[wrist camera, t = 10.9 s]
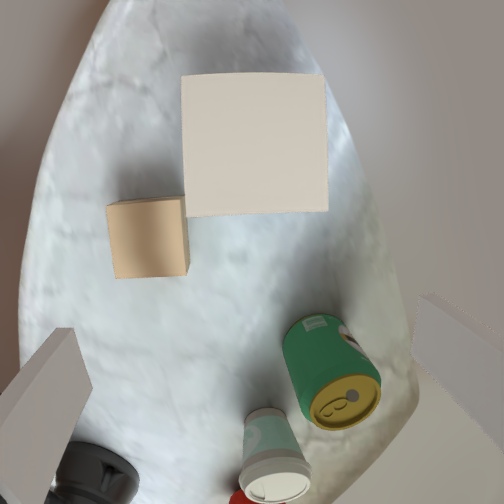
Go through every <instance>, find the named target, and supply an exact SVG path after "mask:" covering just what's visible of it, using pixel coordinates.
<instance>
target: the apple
mask: <svg viewBox="0 0 504 504" xmlns="http://www.w3.org/2000/svg"><path fill="white" fill-rule="evenodd" d="M229 504H262V503H257V502H254V501H252V500H250V499H249V498H247V496H246V495H245V493H244V491H243V490H242V489H240V490H239V491H237V492H235V493H234V494H233V495H232V496H231V497H230V501H229ZM277 504H286V503H285V502H283V503H277Z"/></svg>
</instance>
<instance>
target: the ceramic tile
mask: <svg viewBox="0 0 504 504" xmlns="http://www.w3.org/2000/svg"><path fill="white" fill-rule="evenodd" d="M181 113H182V146H183V169H184V187H185V204H186V218H188V217H205V216H222V215H242V214H264V213H289V212H320V211H328V142H327V115H326V96H325V80H324V75H317V74H300V73H268V72H248V73H216V74H200V75H187V76H181Z"/></svg>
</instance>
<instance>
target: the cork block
mask: <svg viewBox="0 0 504 504" xmlns="http://www.w3.org/2000/svg"><path fill="white" fill-rule="evenodd" d="M106 211H107V220H108V229H109V237H110V245H111V252H112V259H113V266H114V272H115V278H116V279H124V278H148V277H169V276H186V275H187V272H188V269H189V265H190V254H189V242H188V230H187V218H186V204H185V195H184V196H170V197H158V198H146V199H134V200H124V201H118V202H115V203H112V204H110V205H107V206H106Z"/></svg>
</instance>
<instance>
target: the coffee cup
mask: <svg viewBox="0 0 504 504" xmlns="http://www.w3.org/2000/svg"><path fill="white" fill-rule="evenodd" d="M311 478H312V468H311V466H310V464H309V463H307V462H306V460H305V458H304V456H303V453H302V451H301V449H300V447H299V445H298V442H297V440H296V438H295V436H294V433H293V431H292V429H291V427H290V424H289V422H288V420H287V418H286V416H285V414H284V413H283V412H282V411H280V410H278V409H275V408H262V409H258V410H255V411H253V412H252V413H250V414H249V415H248V416H247V418H246V420H245V425H244V440H243V457H242V472H241V474H240V476H239V483H240V487H241V489H242V490H243V491H244V493H245V495H246V496H247V498H249V499H250V500H252V501H254V502H257V503H262V504H277V503H283V502H287V501H291V500H293V499H296V498H298V497H300V496H301V495H303V494H304V493H305V492H306V491H307V490H308V489H309V487H310V482H311Z"/></svg>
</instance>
